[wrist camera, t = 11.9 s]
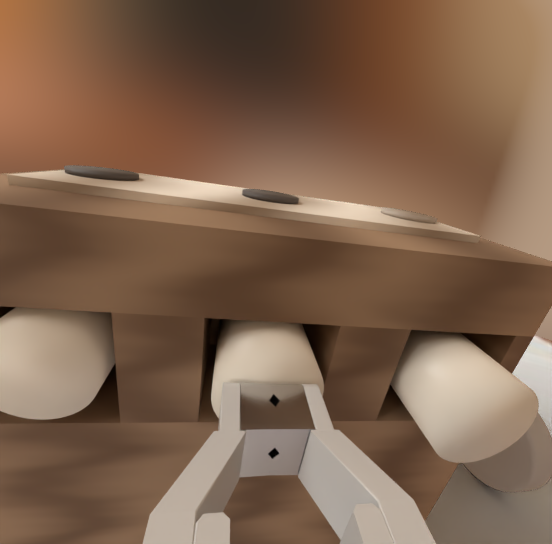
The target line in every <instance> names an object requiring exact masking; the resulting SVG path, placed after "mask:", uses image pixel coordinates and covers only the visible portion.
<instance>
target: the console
mask: <svg viewBox="0 0 552 544" xmlns="http://www.w3.org/2000/svg"><path fill="white" fill-rule="evenodd" d="M436 221H437V218H434V217H432V216H428V215H424V214H420V213H416V212H410V211H406V210H400V209H393V208H381V207H374V206H367V205H360V204H353V203H345V202H339V201H332V200H325V199H318V198H311V197H304V196H296V195H289V194H283V193H279V192H273V191H266V190H258V189H247V188H240V187H233V186H226V185H219V184H212V183H204V182H197V181H190V180H183V179H176V178H169V177H162V176H155V175H148V174H141V173H134V172H130V171H124V170H118V169H110V168H102V167H91V166H64V169H62V170H49V171H34V172H20V173H6V174H0V318H1V317H2V316H4V315H5V314H7V313H8V312H10V311H11V310H13V309H14V308H16V307H23V308H40V309H57V310H75V311H92V312H110V313H111V316H112V328H113V340H114V352H115V364H114V366H113V368H112V369H111V371H110V373H109V374H108V376H107V378H106V379H105V381H104V383H103V384H102V386H101V388H100V389H99V391H98V393H97V395H96V396H95V398H94V399H93V401H92V402H91V403H90V404H89V405H88V406H86V407H85V408H84V409H82V410H81V411H79V412H77V413H75V414H72V415H69V416H66V417H62V418H57V419H46V420H39V419H27V418H22V417H17V416H14V415H10V414H7V413H4V412H2V411H0V544H143V540H144V536H145V532H146V528H147V524H148V520H149V516H150V514H151V512H152V511H153V510H154V508H155V507H156V506H157V505H158V503H159V502H160V501H161V499H162V498H163V497H164V495H165V494H166V493H167V492H168V490H169V489H170V488H171V486H172V485H173V484H174V482H175V481H176V480H177V479H178V477H179V476H180V475H181V473H182V472H183V471H184V469H185V468H186V467H187V466H188V464H189V463H190V462H191V460H192V459H193V458H194V456H195V455H196V454H197V453H198V451H199V450H200V449H201V447H202V446H203V445H204V443H205V442H206V441H207V440H208V438H209V437H210V436H211V434H212V433H213V432H214V431H218V424H219V418H218V417H217V415H216V414H215V412H214V410H213V407H212V403H211V391H212V382H213V373H214V364H215V355H216V346H217V338H218V329H219V321H220V319H232V320H250V321H267V322H285V323H302V325H303V328H304V330H305V333H306V336H307V338H308V341H309V343H310V346H311V349H312V351H313V354H314V356H315V359H316V362H317V364H318V367H319V369H320V372H321V375H322V378H323V382H324V392H323V400H324V402H325V405H326V408H327V411H328V413H329V416H330V419H331V422H332V425H333V427H334V430H340V431H341V432H342V433H343V434H344V435H345V436H346V437H347V438H348V439H349V440H351V441H352V442H353V443H354V444H355V445H356V446H357V447H358V448H359V449H360V450H361V451H362V452H363V453H364V454H365V455H367V456H368V457H369V458H370V459H371V460H372V461H373V462H374V463H375V464H376V465H377V466H378V467H379V468H380V469H381V470H383V471H384V472H385V473H386V474H387V475H388V476H389V477H390V478H391V479H392V480H393V481H394V482H395V483H396V484H397V485H399V486H400V487H401V488H402V489H403V490H404V491H405V492H406V493H407V494H408V495H409V496H410V497H411V498H412V499H413V500H414V501H415V503H416V505H417V507H418V509H419V511H420V513H421V515H422V517H423V519H424V521H425V520H426V518H427V516H428V515H429V513H430V511H431V510H432V508H433V506H434V505H435V503H436V501H437V500H438V498H439V496H440V494H441V493H442V491H443V489H444V488H445V486H446V484H447V483H448V481H449V479H450V478H451V476H452V474H453V472H454V471H455V469H456V467H457V466H458V464H459V463H455V462H450V461H447V460H444V459H443V458H441V457H440V456H439V455H438V454H437V453H436V452H435V450H434V449H433V447H432V446H431V444H430V443H429V441H428V440H427V438H426V437H425V435H424V434H423V432H422V431H421V429H420V428H419V426H418V425H417V423H416V422H415V420H414V419H413V417H412V416H411V414H410V413H409V411H408V410H407V409H406V407H405V406H404V404H403V403H402V401H401V400H400V398H399V397H398V395H397V394H396V392H395V391H394V389H393V388H392V386H391V385H390V383H391V381H392V378H393V375H394V373H395V370H396V368H397V365H398V363H399V360H400V357H401V355H402V352H403V350H404V347H405V345H406V342H407V339H408V337H409V334H410V332H411V330H425V331H442V332H459V333H461V334H462V335H463V336H465V337H466V338H467V339H468V340H470V341H471V342H472V343H473V344H475V345H476V346H477V347H478V348H480V349H481V350H482V351H484V352H485V353H486V354H487V355H489V356H490V357H491V358H492V359H494V360H495V361H496V362H497V363H499V364H500V365H501V366H502V367H504V368H505V369H506V370H508V371H509V372H510V373H511V374H512V372H513V371H514V369H515V367H516V366H517V364H518V362H519V361H520V359H521V357H522V356H523V354H524V352H525V350H526V349H527V347H528V345H529V344H530V342H531V340H532V339H533V337H534V335H535V333H536V332H537V330H538V328H539V327H540V325H541V323H542V321H543V320H544V318H545V316H546V314H547V313H548V311H549V309H550V308H551V306H552V261H548V260H546V259H543V258H540V257H536V256H533V255H531V254H527V253H525V252H522V251H519V250H516V249H513V248H510V247H507V246H504V245H501V244H497V243H495V242H491V241H489V240H486V239H483V238H480V237H481V236H478V235H476V234H472V233H470V232H467V231H463V230H460V229H457V228H454V227H451V226H448V225H445V224H442V223H439V222H436ZM223 512H224V514H225V515H226V516H227V517H228V518H229V519H230V544H340V541H341V540H340V539H339V537H338V536H337V534H336V533H335V531H334V530H333V528H332V527H331V525H330V524H329V522H328V521H327V519H326V518H325V516H324V515H323V513H322V512H321V510H320V509H319V507H318V506H317V504H316V503H315V501H314V500H313V498H312V497H311V495H310V494H309V492H308V491H307V490H306V488H305V487H304V485H303V484H302V482H301V481H300V479H299V478H298V475H266V476H252V477H239V481H238V483H237V485H236V487H235V489H234V491H233V493H232V495H231V497H230V499H229V501H228V502H227V504H226V506H225V508H224V510H223Z"/></svg>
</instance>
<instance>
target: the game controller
mask: <svg viewBox="0 0 552 544" xmlns="http://www.w3.org/2000/svg"><path fill="white" fill-rule="evenodd" d="M463 464H464V465H465V467H466V468H467V469H468V470H469V471H470V472H471V473H472V474H473V475H474V476H475V477H476V478H477V479H479V480H480V481H481V482H483V483H484V484H486V485H488V486H489V487H491V488H494V489H496V490H499V491H503V492H523V491H532V490H536V489H539V488H541V487H542V486H544V485H545V484H546V483H547V482H548V481H549V480H550V478H551V476H552V438H551V436H550V433H549V431H548V429H547V426H546V425H545V423H544V421H543V419H542V418H541V416H540V415H539V413H538V412H537V415H536V417H535V420H534V422H533V423H532V425H531V426H530V428H529V429H528V430H527V431H526V432H525V434H524V435H523V436H522V437H521V438H519V439H518V440H517V441H516V442H515V443H513V444H512V445H511V446H509V447H508V448H506V449H505V450H503V451H501V452H499V453H497V454H495V455H493V456H491V457H488V458H485V459H483V460H479V461H475V462H469V463H463Z"/></svg>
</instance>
